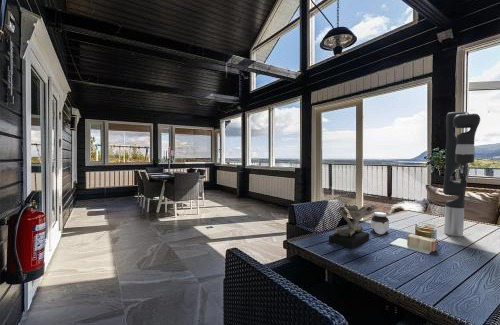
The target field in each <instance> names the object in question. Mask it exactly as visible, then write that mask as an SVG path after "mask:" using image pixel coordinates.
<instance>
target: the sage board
mask: <svg viewBox="0 0 500 325" xmlns="http://www.w3.org/2000/svg"><path fill="white" fill-rule="evenodd" d="M389 245H391V246H394V247H399V248H403V249H407V250H411V251H414V252H417V253H418V252H419V253H422V254H426V255H430V254H431V253H432V252H433V251H429V250H425V249H421V248H417V247H413V246H409V245H407V238H406V239H405V238H401V237H399V238H397V239H395V240H393V241H392V242H390V243H389Z"/></svg>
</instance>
